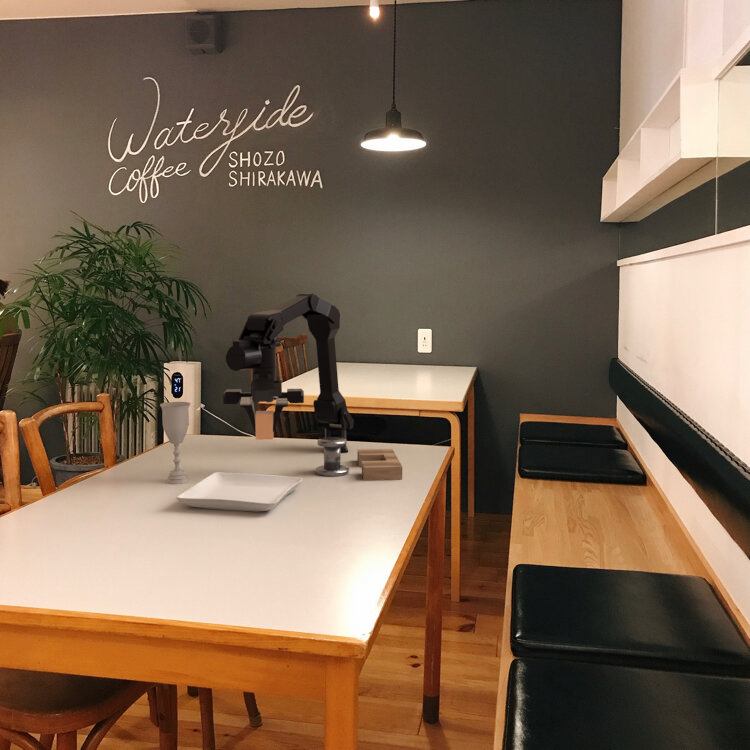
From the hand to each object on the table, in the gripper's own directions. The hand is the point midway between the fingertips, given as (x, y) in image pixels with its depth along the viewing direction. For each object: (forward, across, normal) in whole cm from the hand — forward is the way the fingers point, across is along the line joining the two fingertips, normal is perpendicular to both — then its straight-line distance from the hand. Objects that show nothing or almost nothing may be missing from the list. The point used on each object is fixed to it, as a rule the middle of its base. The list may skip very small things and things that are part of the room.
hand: (264, 432), depth 195 cm
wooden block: (+1, 0, 0) cm, 1 cm away
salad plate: (+11, -4, -22) cm, 25 cm away
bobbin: (+10, +16, 0) cm, 19 cm away
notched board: (+10, +28, +2) cm, 29 cm away
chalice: (+10, -20, -5) cm, 23 cm away
